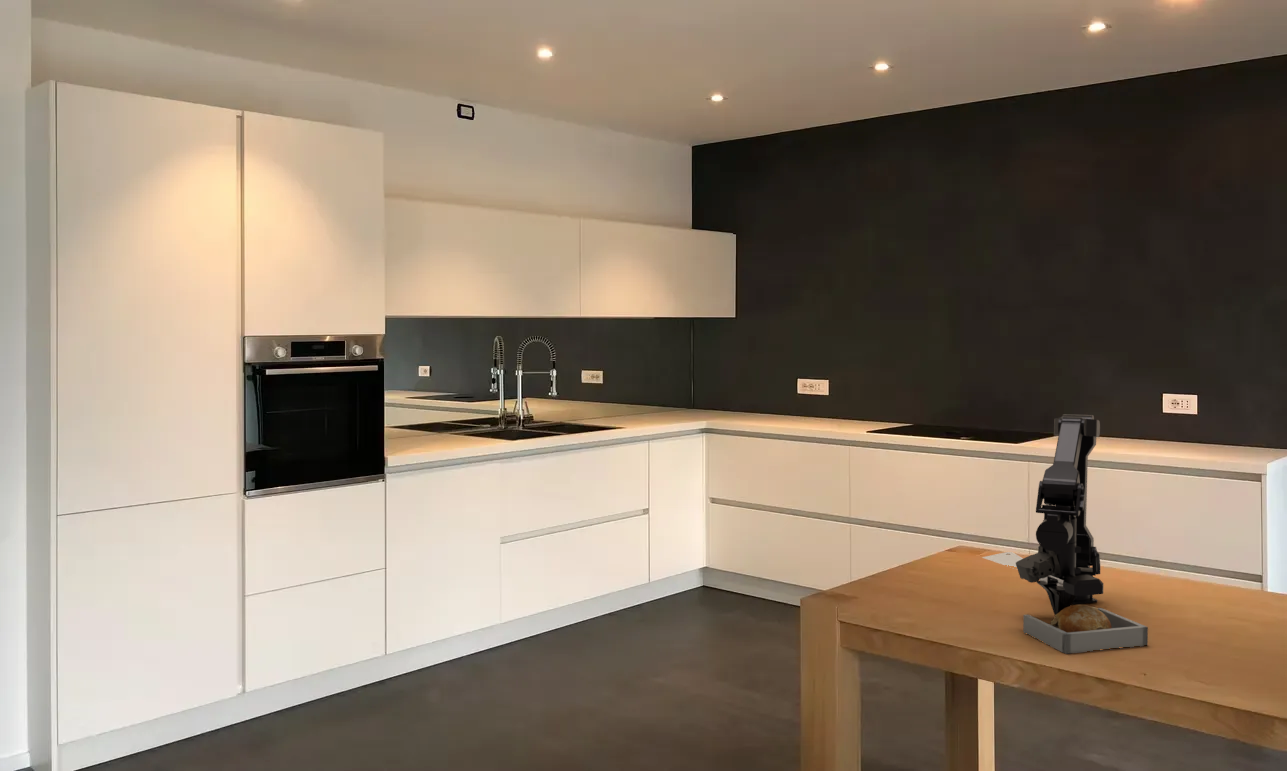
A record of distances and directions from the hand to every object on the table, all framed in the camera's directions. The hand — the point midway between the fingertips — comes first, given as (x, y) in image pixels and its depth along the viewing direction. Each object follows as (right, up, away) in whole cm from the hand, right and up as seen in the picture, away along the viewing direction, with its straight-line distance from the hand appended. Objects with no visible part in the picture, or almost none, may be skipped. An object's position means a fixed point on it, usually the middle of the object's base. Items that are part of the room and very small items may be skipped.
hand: (1059, 619), depth 199 cm
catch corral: (+2, -2, -7) cm, 8 cm away
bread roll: (+2, -2, -6) cm, 6 cm away
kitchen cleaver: (+12, +1, +45) cm, 47 cm away
